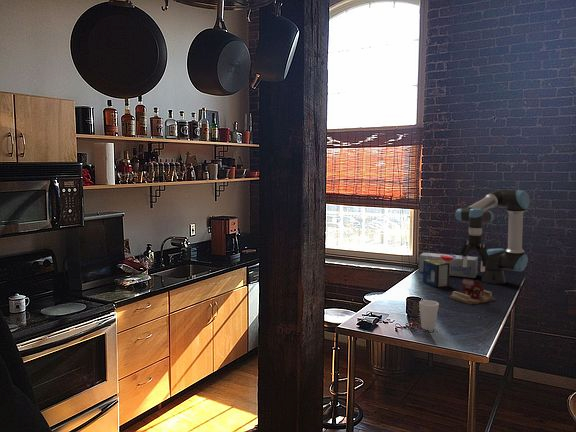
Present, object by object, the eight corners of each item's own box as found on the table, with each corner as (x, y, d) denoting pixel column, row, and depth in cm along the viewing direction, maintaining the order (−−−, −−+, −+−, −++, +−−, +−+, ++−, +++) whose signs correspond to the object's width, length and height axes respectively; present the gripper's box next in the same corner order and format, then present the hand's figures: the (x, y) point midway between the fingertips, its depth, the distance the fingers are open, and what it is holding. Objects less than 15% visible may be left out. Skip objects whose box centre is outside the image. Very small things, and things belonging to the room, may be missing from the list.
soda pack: (477, 275, 357) (478, 256, 355) (475, 279, 345) (476, 259, 344) (422, 268, 376) (423, 251, 375) (418, 272, 365) (418, 254, 364)
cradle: (473, 293, 307) (473, 286, 306) (494, 300, 292) (494, 293, 292) (449, 297, 298) (450, 290, 297) (470, 304, 283) (470, 297, 283)
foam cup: (415, 324, 248) (416, 300, 247) (433, 324, 249) (434, 299, 248) (422, 331, 239) (423, 305, 237) (440, 331, 240) (441, 305, 238)
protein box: (435, 280, 339) (436, 258, 338) (449, 286, 325) (450, 263, 323) (422, 281, 336) (423, 259, 334) (435, 287, 322) (436, 264, 320)
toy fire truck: (481, 299, 288) (482, 282, 287) (460, 296, 296) (460, 279, 294) (484, 297, 294) (485, 280, 293) (463, 293, 301) (464, 277, 300)
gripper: (454, 232, 300) (453, 265, 302) (487, 238, 278) (485, 274, 280) (463, 231, 303) (462, 264, 306) (496, 237, 281) (495, 272, 284)
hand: (473, 269), depth 293 cm, fingers open, 13 cm apart
